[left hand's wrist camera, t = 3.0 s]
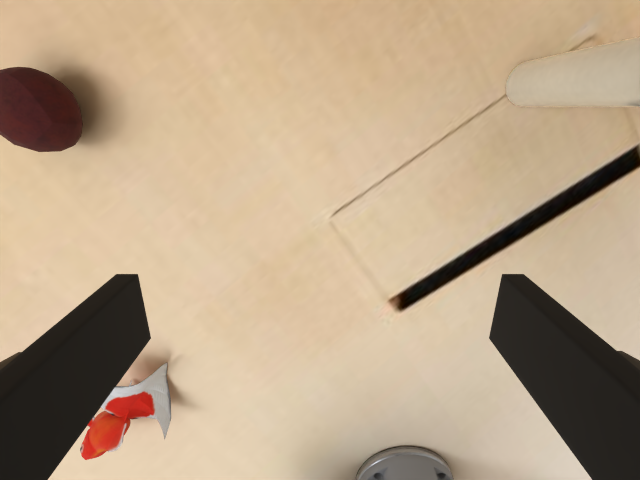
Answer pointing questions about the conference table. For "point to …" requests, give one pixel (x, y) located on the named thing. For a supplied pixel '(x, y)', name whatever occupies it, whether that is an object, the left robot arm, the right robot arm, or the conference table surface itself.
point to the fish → (128, 413)
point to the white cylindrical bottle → (580, 78)
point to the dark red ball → (37, 111)
